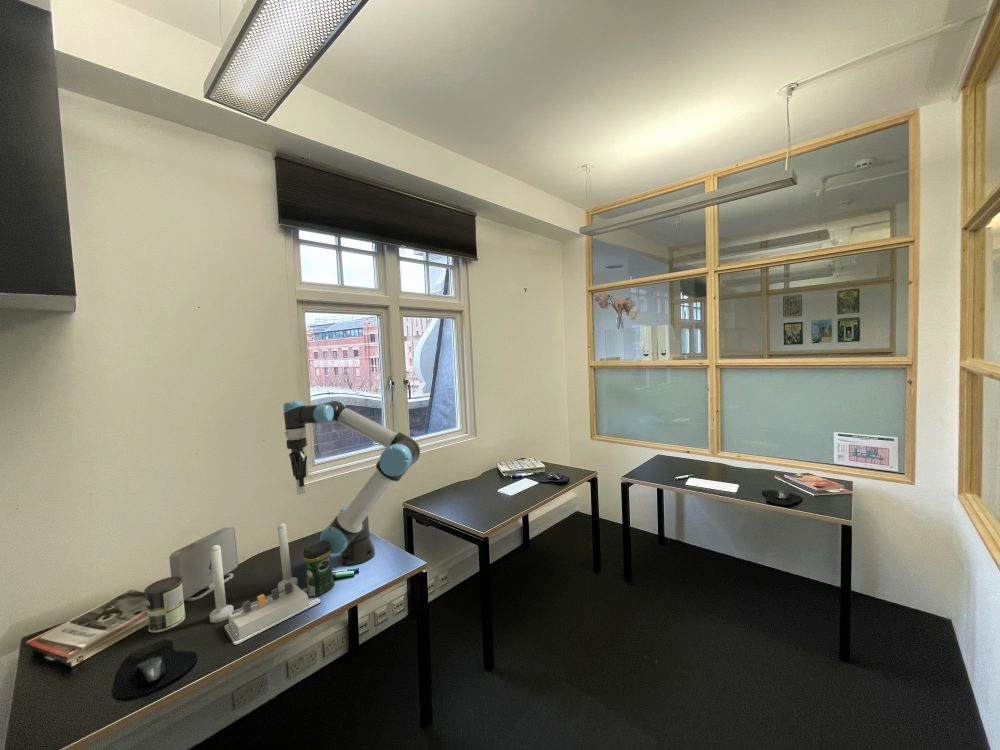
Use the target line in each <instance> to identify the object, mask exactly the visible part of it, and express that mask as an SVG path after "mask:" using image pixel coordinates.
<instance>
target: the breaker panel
mask: <svg viewBox="0 0 1000 750" xmlns="http://www.w3.org/2000/svg"><path fill="white" fill-rule="evenodd" d="M292 589H294V592H292V593H289V594H287V595H285V596H283V597H281V598H278V599H276V600H274V601H272V602H270V603H267V604H265V605H263V606H261V607H258V608H256V609H254V610H252V611H250V612H247V613H245V614H243V615H241V612H242V611H243V606H242V607H240V608H238V609H235V610H234V611H233V612H230V613H228V625H229V627H230V628H231V630H232V631H233V630H234V631H233V632H234V634H235V633H236V634H237V635H236V634H235V635H236V636H237V638H238V639H239V640H241V638H242V639H243V637H244V638H245V636H246V637H248V636H250V635H251V633H252V634H254V633H256V632H258V631H259V630H262V629H264V628H266V627H267V626H270V625H272V624H274V623H276V622H279V621H280V620H282V619H285V618H286V617H288V616H290V615H293V614H294V613H296V612H299V611H301V610H303V609H304V608H307V607H309V596H308V595H309V594H308V593H307V592H305V591H304V590H302V589H301V588H300V587H299V585H298V586H296V585H295V584H294V585H292ZM283 593H285V589H283V590H280V591H279V595H280V594H283ZM271 598H272V594H269V595H267V596H265V601H267V600H269V599H271ZM250 604H251V607H253V606H256V605H258V600H255V601H252V602H250ZM255 631H256V632H255ZM253 632H254V633H253ZM249 634H250V635H249ZM247 635H248V636H247Z"/></svg>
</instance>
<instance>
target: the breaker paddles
mask: <svg viewBox="0 0 1000 750" xmlns="http://www.w3.org/2000/svg"><path fill="white" fill-rule="evenodd" d="M292 592H294V589H292V584H291V583H290V582H289V583H287V584H285V593H283V594H280V595H279V590H278V587H275V588H274V589H272V590H270V593H271V594H272V598H271V599H269V600H267V601H265V597H266V595H265V594H264V593H262V594H260V595H257V596H256V599H257V600H256V601H258V605H256V606H253V607H251V601H250V600H246V601H245V600H244V601H243V602H242V607H243V611H242V612H241V615H243V614H245V613H247V612H250V611H252V610H254V609H256V608H258V607H261V606H263V605H265V604H267V603H270V602H272V601H274V600H276V599H278V598H281V597H283V596H285V595H287V594H289V593H292ZM271 594H270V595H271Z"/></svg>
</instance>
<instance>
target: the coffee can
mask: <svg viewBox="0 0 1000 750" xmlns="http://www.w3.org/2000/svg"><path fill="white" fill-rule="evenodd" d="M143 592H144V597H145V608H146V614H147V615H146V616H147V617H146V618H147V624H148V625H147V626H148V627H147V628H148V629H147V630H148V632H150V633H153V634H154V633H161V632H165V631H167V630H170V629H173V628H174V627H176V626H178V625H180V624H181V623H182V622H184V620H185V619H186V611H185V601H184V598H183V588H182V578H181V577H171V576H169V577H165V578H162V579H159V580H157V581H155V582H152V583H151V584H149V585H148V586H147V587H145V589H144V590H143Z"/></svg>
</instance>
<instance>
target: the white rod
mask: <svg viewBox="0 0 1000 750" xmlns="http://www.w3.org/2000/svg"><path fill="white" fill-rule="evenodd" d="M277 534H278V544H279V553H280V563H281V572H282V580H281V581H279V582H278V584H277V589H278V590H279V591H280V590H283V589H285V584H287V583H289V582H290V583H291V584H292V585H294V584H295V585H296V586H298V587H299V582H298V581H299V580H298V578H297V577H296V576H295V577H293V576H292V570H291V569H292V568H291V560H290V549H289V539H288V530H287V525H286V523H283V522H282V523H279V524H278V526H277Z"/></svg>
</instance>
